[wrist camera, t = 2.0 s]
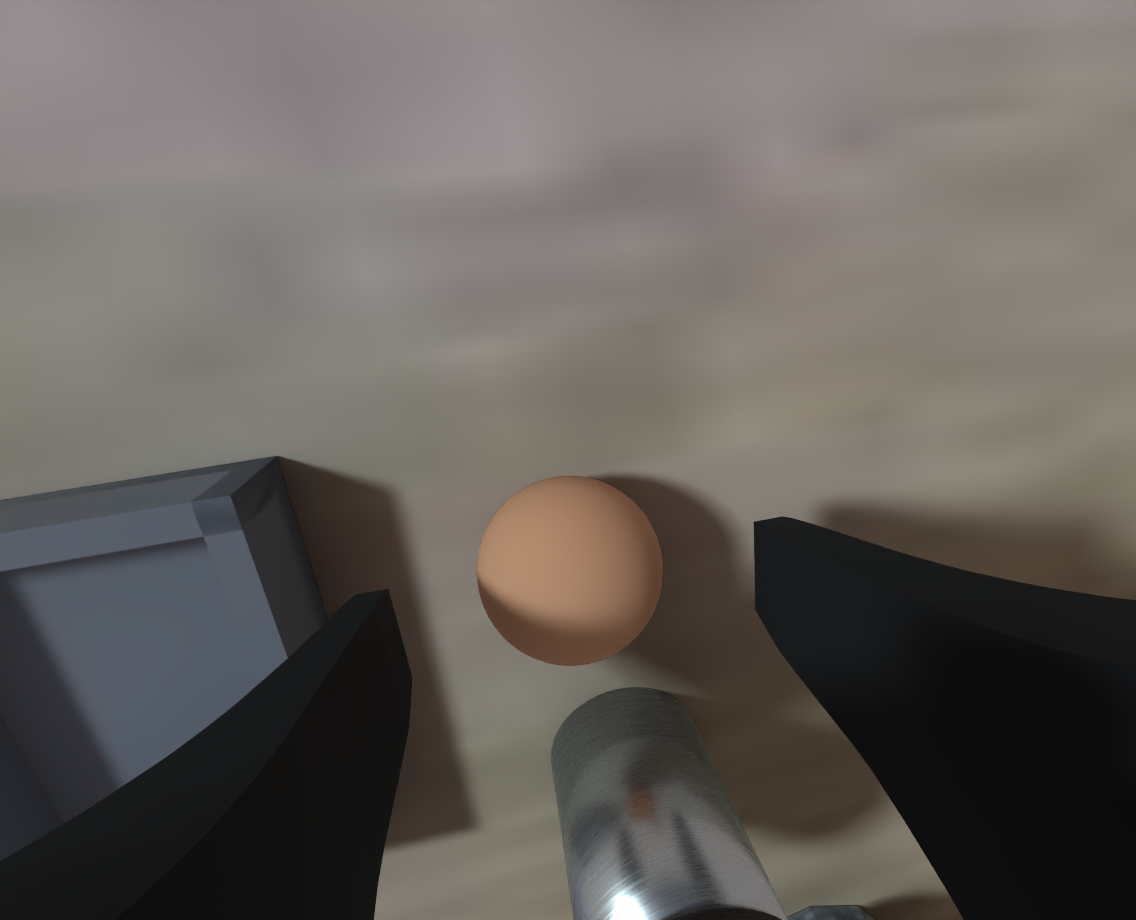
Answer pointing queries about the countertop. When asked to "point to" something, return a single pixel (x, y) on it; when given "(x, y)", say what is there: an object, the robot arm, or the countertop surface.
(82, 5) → the countertop surface
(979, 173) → the countertop surface
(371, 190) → the countertop surface
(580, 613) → the ball
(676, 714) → the shaker
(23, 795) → the dish
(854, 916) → the mortar and pestle
